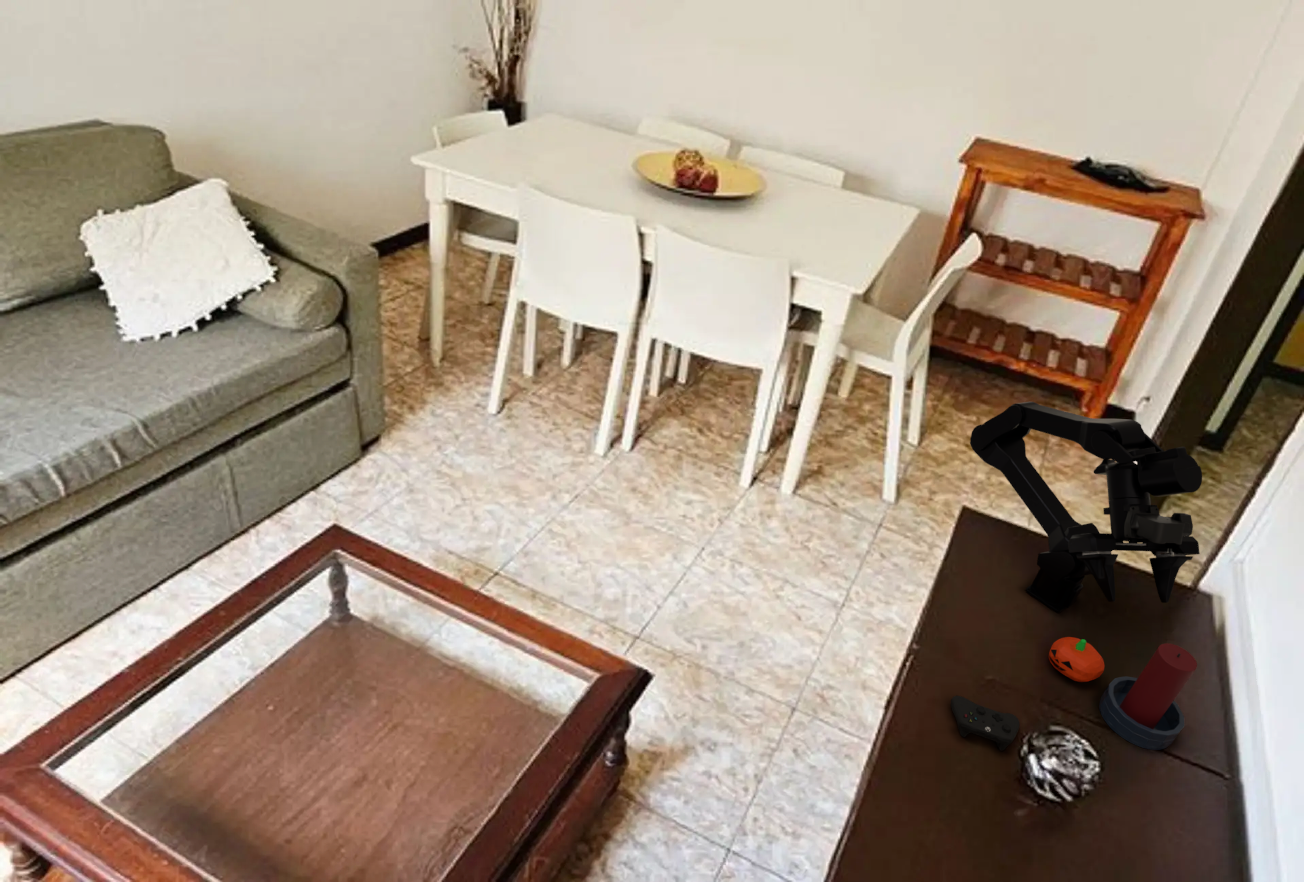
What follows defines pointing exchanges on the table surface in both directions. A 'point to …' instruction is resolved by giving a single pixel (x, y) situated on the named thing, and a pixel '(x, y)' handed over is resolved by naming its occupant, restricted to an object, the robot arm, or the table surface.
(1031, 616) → the table surface
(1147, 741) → the blue round dish
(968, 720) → the gaming controller
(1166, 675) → the candle
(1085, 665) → the pumpkin
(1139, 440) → the robot arm
